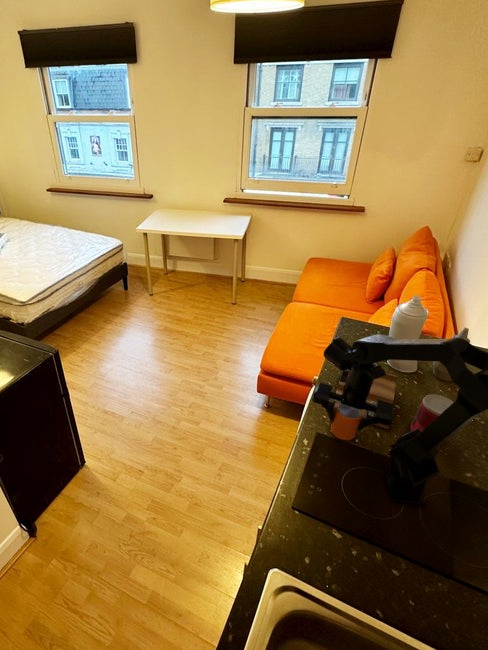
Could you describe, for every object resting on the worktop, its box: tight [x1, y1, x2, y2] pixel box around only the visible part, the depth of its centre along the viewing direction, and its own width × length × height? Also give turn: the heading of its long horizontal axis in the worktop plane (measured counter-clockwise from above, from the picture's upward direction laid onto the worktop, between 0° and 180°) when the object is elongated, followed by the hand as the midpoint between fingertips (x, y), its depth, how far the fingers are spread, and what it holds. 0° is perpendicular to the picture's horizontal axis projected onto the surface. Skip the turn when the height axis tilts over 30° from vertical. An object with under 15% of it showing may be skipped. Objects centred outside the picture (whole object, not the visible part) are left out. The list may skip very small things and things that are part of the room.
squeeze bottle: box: [432, 327, 471, 382], centre depth 116 cm, size 8×8×18 cm
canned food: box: [410, 394, 455, 432], centre depth 98 cm, size 8×8×11 cm
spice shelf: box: [335, 372, 398, 430], centre depth 110 cm, size 18×15×6 cm
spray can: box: [386, 295, 429, 373], centre depth 119 cm, size 12×11×25 cm
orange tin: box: [330, 403, 363, 441], centre depth 99 cm, size 6×6×8 cm
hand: (344, 425), depth 100 cm, fingers closed on orange tin, 6 cm apart
